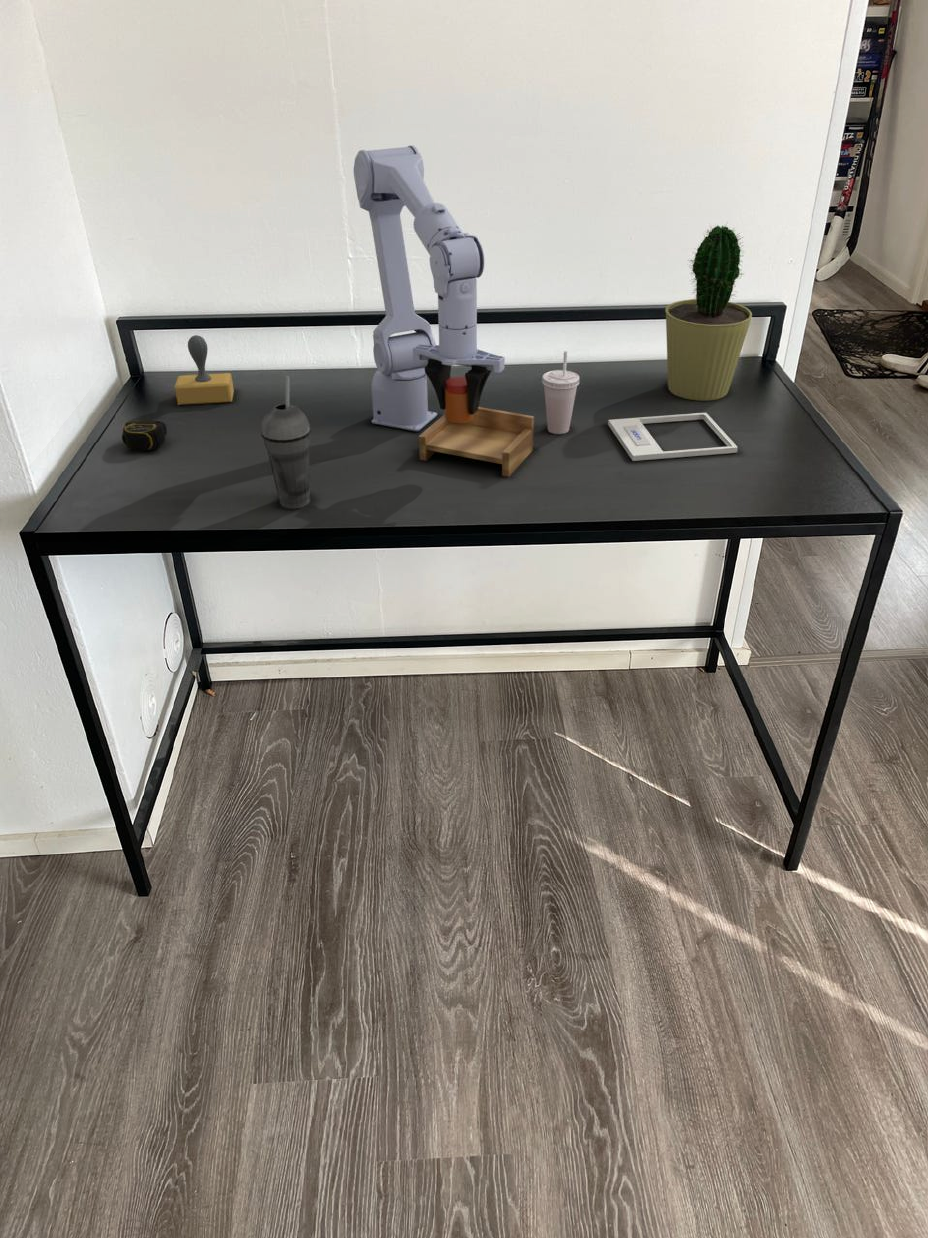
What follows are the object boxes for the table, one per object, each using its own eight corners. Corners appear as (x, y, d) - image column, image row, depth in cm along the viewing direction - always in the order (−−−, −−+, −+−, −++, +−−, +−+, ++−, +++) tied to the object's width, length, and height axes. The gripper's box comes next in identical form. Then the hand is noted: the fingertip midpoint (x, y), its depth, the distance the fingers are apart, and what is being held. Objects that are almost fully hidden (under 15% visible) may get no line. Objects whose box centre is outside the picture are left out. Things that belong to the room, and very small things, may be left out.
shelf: (419, 459, 157) (418, 424, 153) (447, 434, 165) (446, 401, 161) (508, 477, 151) (509, 441, 148) (532, 450, 159) (534, 416, 156)
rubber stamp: (234, 390, 182) (224, 329, 175) (231, 402, 177) (221, 339, 170) (181, 393, 181) (169, 331, 174) (177, 405, 176) (165, 342, 169)
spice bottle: (440, 420, 149) (439, 384, 145) (452, 410, 152) (451, 374, 149) (466, 425, 147) (465, 388, 144) (477, 414, 151) (477, 378, 147)
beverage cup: (273, 491, 148) (255, 367, 137) (319, 489, 149) (306, 365, 137) (269, 514, 142) (250, 386, 131) (317, 511, 143) (303, 384, 131)
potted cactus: (655, 372, 188) (673, 211, 170) (735, 375, 186) (761, 213, 168) (657, 403, 175) (677, 232, 158) (743, 406, 173) (772, 234, 156)
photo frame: (608, 418, 167) (706, 411, 169) (608, 424, 167) (705, 417, 169) (633, 454, 155) (738, 446, 157) (632, 460, 155) (737, 452, 158)
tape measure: (169, 437, 165) (165, 416, 163) (162, 454, 160) (158, 433, 157) (130, 438, 165) (125, 418, 163) (121, 455, 159) (116, 435, 157)
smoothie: (574, 438, 163) (579, 359, 155) (537, 435, 164) (540, 357, 156) (578, 423, 168) (583, 346, 160) (542, 420, 169) (545, 343, 161)
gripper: (402, 325, 141) (406, 411, 148) (491, 337, 136) (491, 426, 143) (423, 311, 146) (426, 395, 154) (510, 323, 141) (508, 409, 149)
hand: (458, 409), depth 149 cm, fingers closed on spice bottle, 4 cm apart
